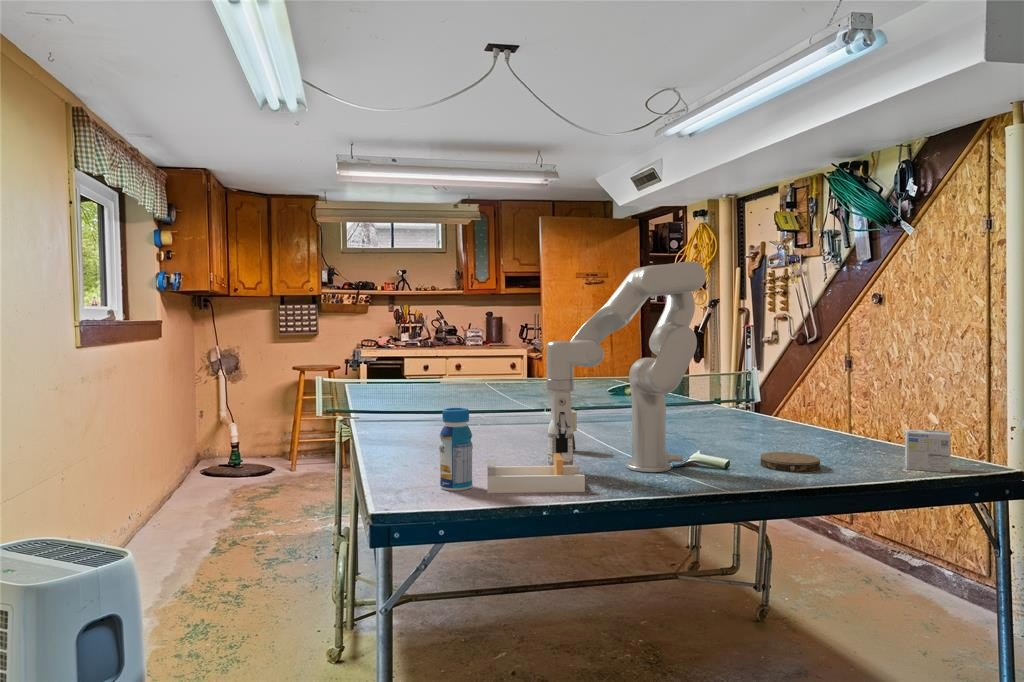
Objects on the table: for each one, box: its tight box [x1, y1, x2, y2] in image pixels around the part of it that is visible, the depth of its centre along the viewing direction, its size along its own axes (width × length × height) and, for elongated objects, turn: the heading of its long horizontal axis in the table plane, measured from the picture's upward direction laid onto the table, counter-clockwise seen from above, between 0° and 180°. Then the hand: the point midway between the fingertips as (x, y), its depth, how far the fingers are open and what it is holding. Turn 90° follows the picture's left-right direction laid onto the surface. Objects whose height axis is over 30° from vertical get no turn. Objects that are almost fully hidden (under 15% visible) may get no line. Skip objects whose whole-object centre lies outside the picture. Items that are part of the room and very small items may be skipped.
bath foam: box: [547, 401, 574, 466], centre depth 183 cm, size 7×7×20 cm
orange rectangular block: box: [553, 453, 563, 475], centre depth 169 cm, size 2×9×6 cm, turn 2°
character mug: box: [571, 410, 578, 451], centre depth 215 cm, size 11×7×13 cm, turn 11°
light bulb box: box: [904, 428, 952, 473], centre depth 187 cm, size 11×7×11 cm, turn 65°
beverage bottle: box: [438, 407, 474, 492], centre depth 168 cm, size 8×8×20 cm
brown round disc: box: [760, 451, 821, 474], centre depth 191 cm, size 16×16×3 cm
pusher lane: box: [486, 459, 586, 494], centre depth 169 cm, size 24×12×6 cm, turn 92°
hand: (560, 449), depth 183 cm, fingers closed on bath foam, 7 cm apart
